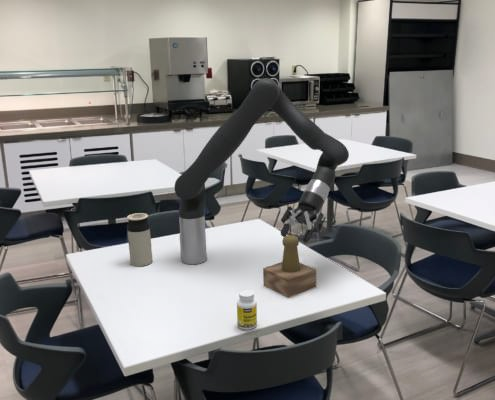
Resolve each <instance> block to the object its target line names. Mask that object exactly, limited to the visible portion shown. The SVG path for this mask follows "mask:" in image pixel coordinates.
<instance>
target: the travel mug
mask: <svg viewBox="0 0 495 400" xmlns="http://www.w3.org/2000/svg"><path fill="white" fill-rule="evenodd" d="M148 218H149V215H148V213H144V212H142V213H141V212H138V213H136V212H135V213H132V214H129V215H127V216H126V219H127V220H128V223H127V224H126V228H127V229H126V230H127V240H128V251H129V260H130V265H132V266H135V267H145V266H148V265H150V264H152V263H153V251H152V239H151V237H152V236H151V229H150V228H151V227H150V226H151V225H150V224H151V223H150V222H149V220H148Z"/></svg>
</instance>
